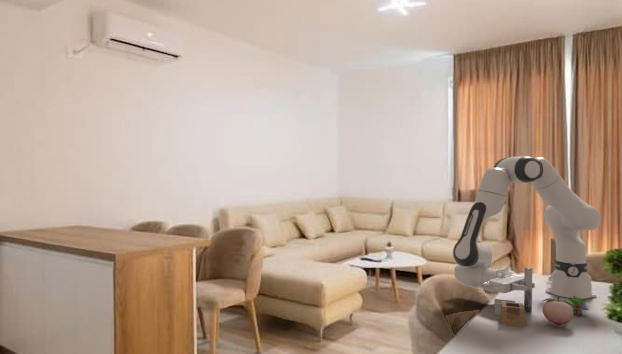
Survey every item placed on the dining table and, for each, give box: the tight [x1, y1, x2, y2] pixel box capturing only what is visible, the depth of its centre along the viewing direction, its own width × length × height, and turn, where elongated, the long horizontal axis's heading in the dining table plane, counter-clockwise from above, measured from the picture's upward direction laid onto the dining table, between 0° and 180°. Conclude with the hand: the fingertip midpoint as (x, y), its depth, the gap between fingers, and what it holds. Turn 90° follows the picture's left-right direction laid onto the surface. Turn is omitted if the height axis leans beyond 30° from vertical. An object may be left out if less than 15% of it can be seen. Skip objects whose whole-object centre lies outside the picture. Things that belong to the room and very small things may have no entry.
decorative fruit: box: [542, 295, 575, 327], centre depth 145 cm, size 9×8×10 cm
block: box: [494, 298, 516, 317], centre depth 159 cm, size 7×7×4 cm
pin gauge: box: [523, 267, 533, 314], centre depth 162 cm, size 3×3×16 cm
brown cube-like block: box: [500, 301, 526, 328], centre depth 149 cm, size 7×7×6 cm
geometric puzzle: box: [568, 296, 589, 318], centre depth 158 cm, size 7×7×8 cm
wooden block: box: [549, 237, 556, 276], centre depth 213 cm, size 10×10×20 cm
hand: (530, 287), depth 161 cm, fingers open, 5 cm apart
